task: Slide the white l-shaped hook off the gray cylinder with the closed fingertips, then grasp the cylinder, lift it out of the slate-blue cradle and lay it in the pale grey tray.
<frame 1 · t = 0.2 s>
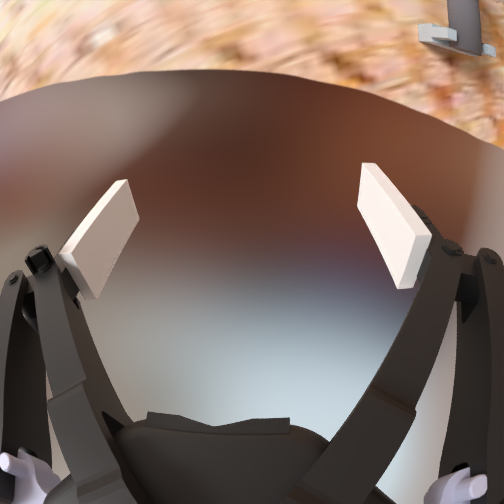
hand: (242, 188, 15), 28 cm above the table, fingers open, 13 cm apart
gray cylinder: (453, 3, 19), point 4 cm above the table, touching cradle
cradle: (439, 4, 22), on the table
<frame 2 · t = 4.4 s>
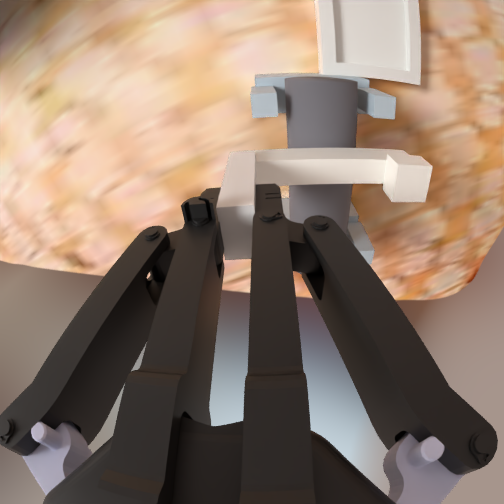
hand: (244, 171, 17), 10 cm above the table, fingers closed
gray cylinder: (315, 168, 23), point 4 cm above the table, touching cradle
white l-shaped hook: (342, 170, 16), point 11 cm above the table, slide at 0.2 cm, touching gripper
cradle: (307, 152, 26), on the table
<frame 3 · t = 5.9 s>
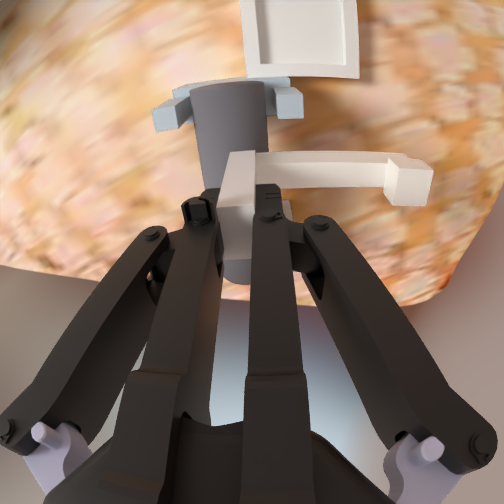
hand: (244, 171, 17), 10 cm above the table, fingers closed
gray cylinder: (239, 174, 24), point 4 cm above the table, touching cradle
white l-shaped hook: (343, 173, 16), point 11 cm above the table, slide at 6.7 cm, touching gripper
cradle: (241, 158, 27), on the table
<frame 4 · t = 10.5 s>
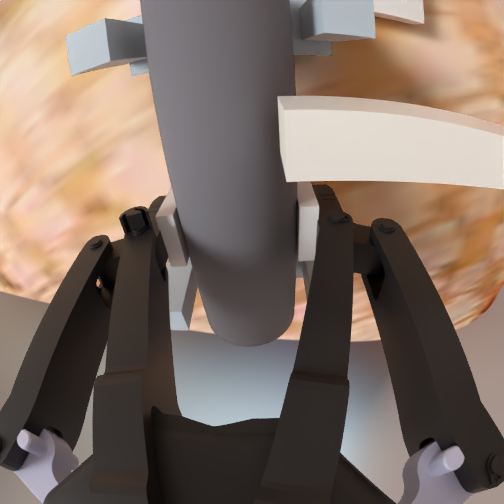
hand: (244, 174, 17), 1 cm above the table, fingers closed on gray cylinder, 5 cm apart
gray cylinder: (238, 159, 13), point 4 cm above the table, touching cradle, gripper
white l-shaped hook: (474, 155, 5), point 11 cm above the table, slide at 6.7 cm
cradle: (242, 136, 16), on the table
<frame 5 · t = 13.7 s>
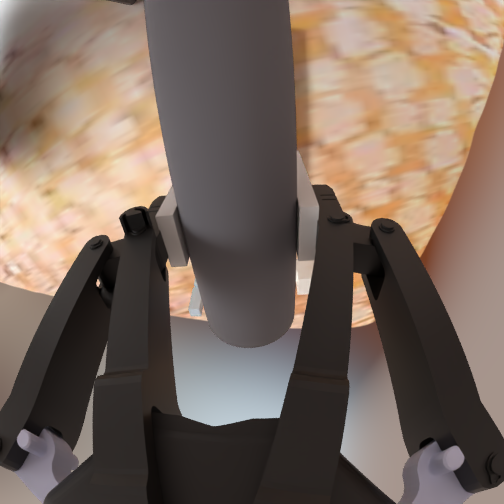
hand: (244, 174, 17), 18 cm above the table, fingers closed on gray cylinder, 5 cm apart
gray cylinder: (237, 160, 13), point 21 cm above the table, touching gripper
white l-shaped hook: (272, 276, 32), point 11 cm above the table, slide at 7.3 cm
cradle: (220, 240, 43), on the table
when the fingers open (2 cm above the table, at t = 16.9 s): gray cylinder drops 3 cm, resting on tray.
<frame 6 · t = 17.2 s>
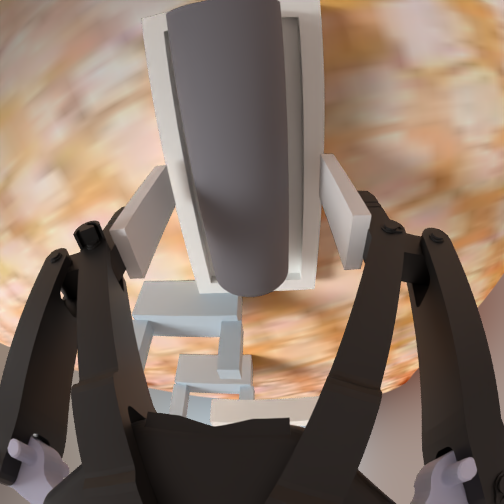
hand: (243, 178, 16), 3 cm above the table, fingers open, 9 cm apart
tray: (245, 162, 18), on the table
gray cylinder: (240, 142, 16), point 1 cm above the table, touching tray
white l-shaped hook: (277, 422, 19), point 11 cm above the table, slide at 7.3 cm
cradle: (206, 332, 30), on the table
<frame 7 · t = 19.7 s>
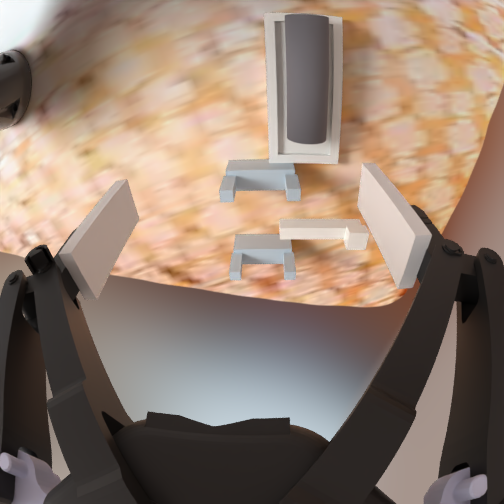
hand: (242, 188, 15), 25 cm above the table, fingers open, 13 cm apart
tray: (303, 87, 32), on the table
gray cylinder: (304, 75, 30), point 1 cm above the table, touching tray
white l-shaped hook: (323, 232, 33), point 11 cm above the table, slide at 7.3 cm
cradle: (262, 207, 44), on the table
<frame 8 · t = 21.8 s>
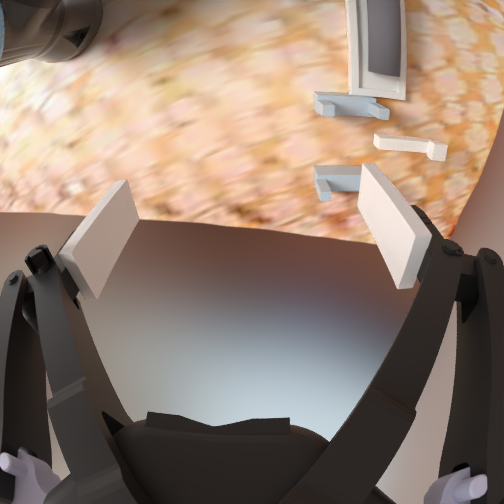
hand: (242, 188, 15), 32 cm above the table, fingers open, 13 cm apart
tray: (375, 36, 31), on the table
gray cylinder: (377, 25, 29), point 1 cm above the table, touching tray
white l-shaped hook: (411, 145, 32), point 11 cm above the table, slide at 7.3 cm
cradle: (340, 138, 43), on the table
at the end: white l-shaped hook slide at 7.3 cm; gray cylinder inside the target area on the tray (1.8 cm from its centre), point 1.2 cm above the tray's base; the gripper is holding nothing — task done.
